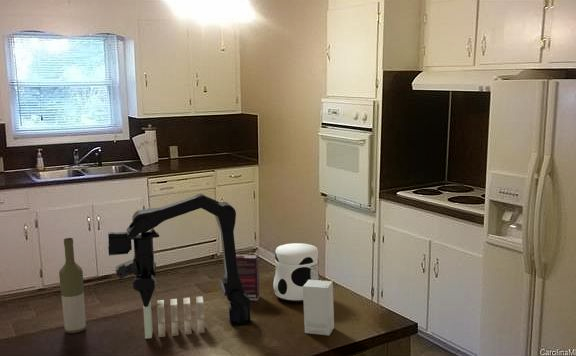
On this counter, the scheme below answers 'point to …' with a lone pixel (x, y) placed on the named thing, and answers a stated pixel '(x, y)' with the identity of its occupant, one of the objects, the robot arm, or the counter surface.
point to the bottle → (72, 291)
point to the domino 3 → (174, 317)
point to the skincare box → (318, 307)
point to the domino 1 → (148, 321)
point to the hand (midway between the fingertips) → (146, 301)
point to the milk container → (294, 270)
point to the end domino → (200, 314)
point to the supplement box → (249, 274)
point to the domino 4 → (187, 315)
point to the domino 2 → (161, 318)
